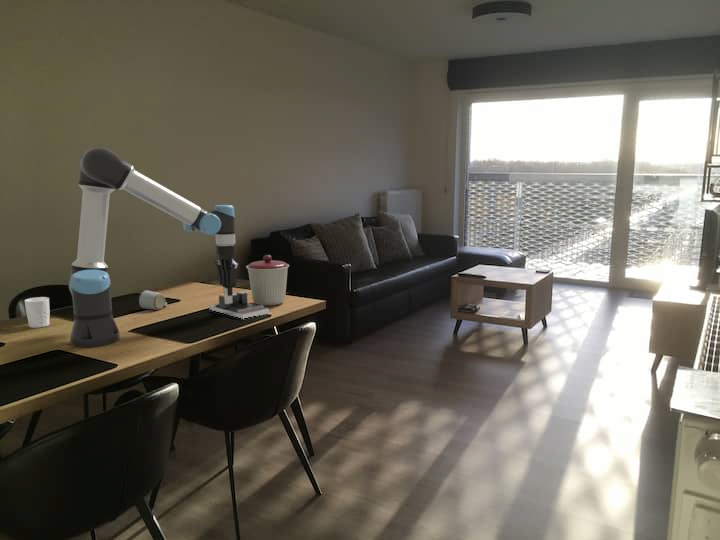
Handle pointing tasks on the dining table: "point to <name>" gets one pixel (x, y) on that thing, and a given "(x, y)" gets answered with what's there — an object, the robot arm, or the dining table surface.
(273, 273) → the canister
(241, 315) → the serrated grey base plate
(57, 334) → the dining table surface
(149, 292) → the ceramic mug
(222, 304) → the toggle
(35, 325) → the white cup
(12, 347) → the dining table surface
